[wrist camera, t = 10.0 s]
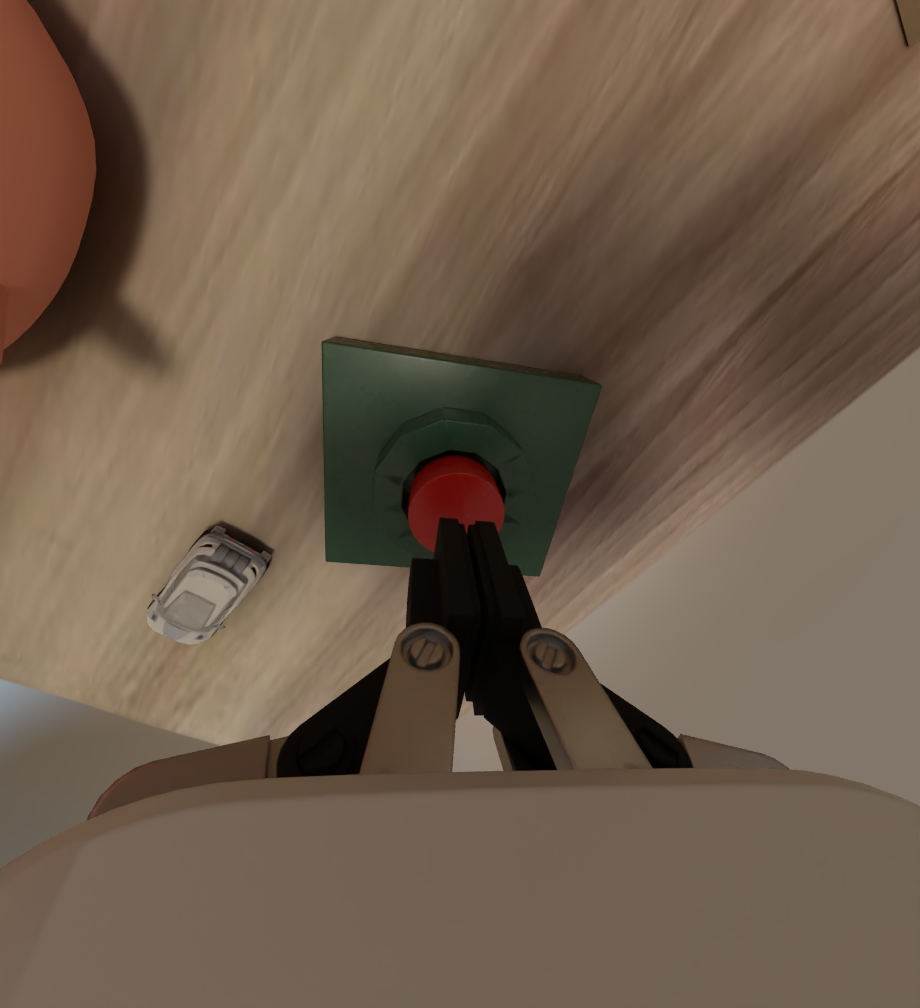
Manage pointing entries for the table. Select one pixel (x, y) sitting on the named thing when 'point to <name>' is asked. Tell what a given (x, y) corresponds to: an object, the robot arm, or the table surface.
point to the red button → (452, 497)
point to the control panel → (910, 19)
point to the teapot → (38, 169)
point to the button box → (443, 444)
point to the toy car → (206, 587)
